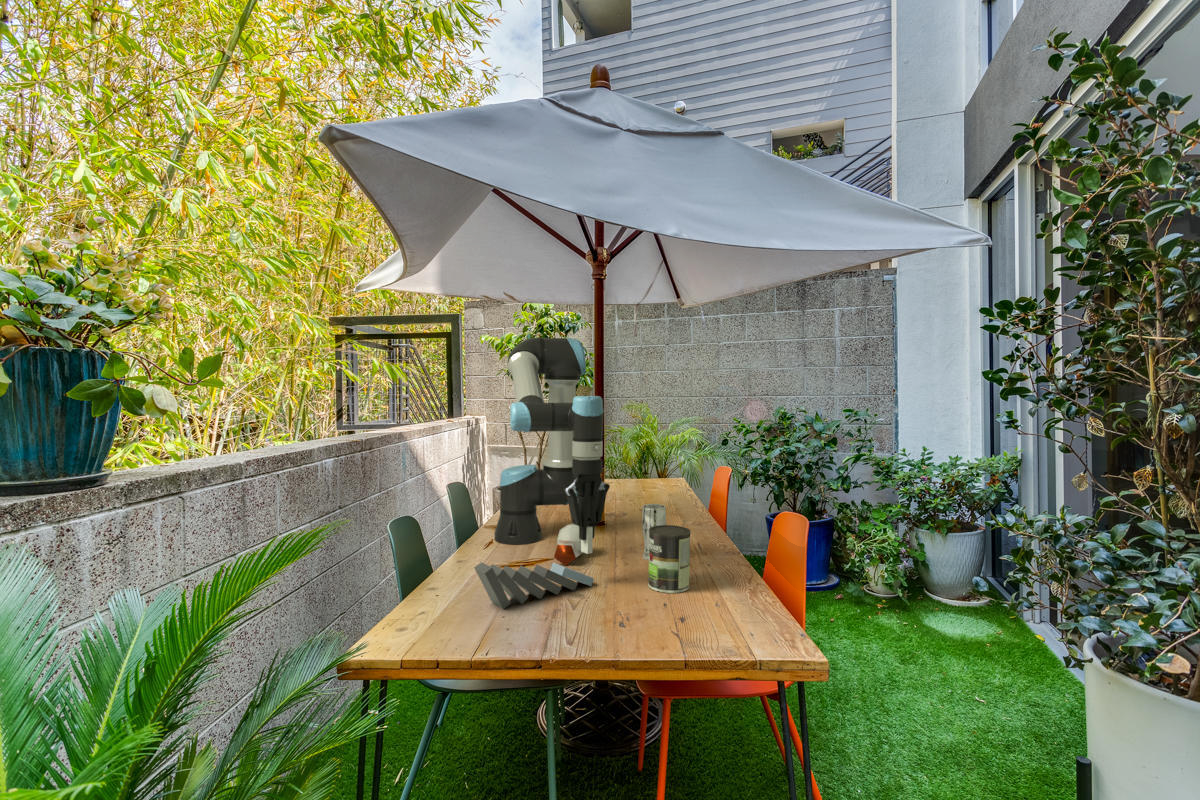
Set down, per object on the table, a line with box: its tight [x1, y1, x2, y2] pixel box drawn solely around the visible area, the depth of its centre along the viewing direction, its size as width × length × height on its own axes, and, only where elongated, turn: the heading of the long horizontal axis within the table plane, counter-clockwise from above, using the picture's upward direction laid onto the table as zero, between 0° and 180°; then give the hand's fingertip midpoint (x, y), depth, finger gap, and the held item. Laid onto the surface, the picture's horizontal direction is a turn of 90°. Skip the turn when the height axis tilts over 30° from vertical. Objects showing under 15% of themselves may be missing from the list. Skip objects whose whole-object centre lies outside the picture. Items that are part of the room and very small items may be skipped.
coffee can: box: [647, 524, 692, 594], centre depth 146 cm, size 10×10×14 cm
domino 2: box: [489, 563, 529, 605], centre depth 134 cm, size 2×5×10 cm
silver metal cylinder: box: [641, 503, 667, 561], centre depth 171 cm, size 7×7×15 cm
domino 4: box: [517, 565, 562, 596], centre depth 139 cm, size 2×5×10 cm
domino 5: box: [532, 564, 579, 592], centre depth 142 cm, size 2×5×10 cm
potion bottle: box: [553, 523, 585, 567], centre depth 170 cm, size 9×10×15 cm
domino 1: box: [473, 562, 511, 610], centre depth 131 cm, size 2×5×10 cm, turn 38°
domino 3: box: [502, 565, 546, 600], centre depth 136 cm, size 2×5×10 cm
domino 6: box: [549, 562, 595, 587], centre depth 145 cm, size 2×5×10 cm
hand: (586, 552), depth 148 cm, fingers closed
